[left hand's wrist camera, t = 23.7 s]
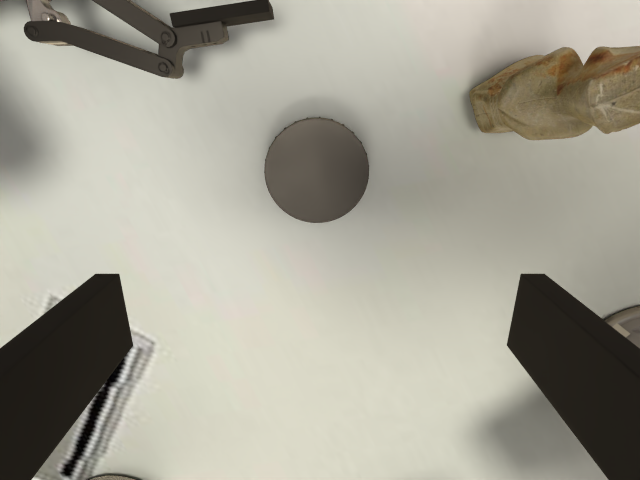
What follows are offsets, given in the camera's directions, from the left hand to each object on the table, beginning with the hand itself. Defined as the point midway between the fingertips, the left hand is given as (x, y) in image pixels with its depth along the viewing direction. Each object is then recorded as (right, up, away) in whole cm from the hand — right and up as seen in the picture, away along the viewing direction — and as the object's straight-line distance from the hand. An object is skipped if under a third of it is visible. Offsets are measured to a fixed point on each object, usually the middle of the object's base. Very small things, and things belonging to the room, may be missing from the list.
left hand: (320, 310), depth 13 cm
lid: (0, +8, +22) cm, 24 cm away
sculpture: (+16, +15, +21) cm, 31 cm away
